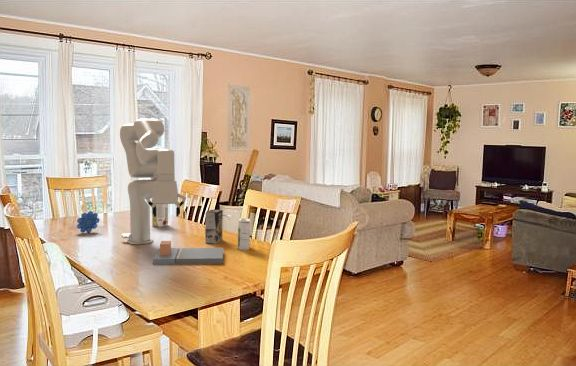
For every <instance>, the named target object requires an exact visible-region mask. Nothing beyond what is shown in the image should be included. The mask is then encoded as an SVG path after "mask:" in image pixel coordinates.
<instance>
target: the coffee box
mask: <svg viewBox="0 0 576 366" xmlns="http://www.w3.org/2000/svg"><path fill="white" fill-rule="evenodd" d="M223 211H224V209H210V210H208V211H206V212H205V232H204V233H205V237H204V238H205V241H204V242H205V244H218V243H219V242H221V241H223V213H224V212H223Z"/></svg>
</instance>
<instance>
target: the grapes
mask: <svg viewBox="0 0 576 366" xmlns="http://www.w3.org/2000/svg"><path fill="white" fill-rule="evenodd" d="M98 216H99V214H98V213H97V212H94V211H92V210H89V211H87V212H83V213H81V216H80V217H78V218H77V220H76V221H77V223H78V224H77V225H76V228H77V229H78V230H79V231H80V233H85V232H86V233H91V232H92V231H93V230H95V229H97V227H98V224H99V223H100V218H99V217H98Z"/></svg>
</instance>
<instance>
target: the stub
mask: <svg viewBox="0 0 576 366" xmlns="http://www.w3.org/2000/svg"><path fill="white" fill-rule="evenodd" d="M179 249H180V248H179V247H172V240H161V242H160V243H159V249H158V250H157V251H156V253H155V255H154V256H153V258H152V265H176V264H175V259H176V256H177V254H178V251H179Z"/></svg>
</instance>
